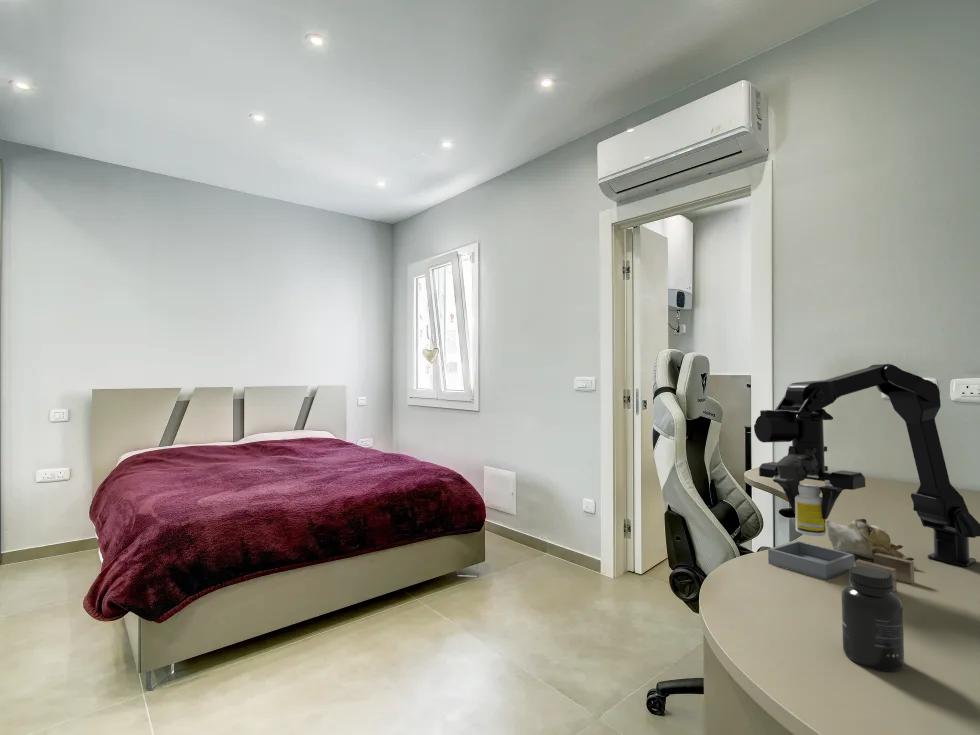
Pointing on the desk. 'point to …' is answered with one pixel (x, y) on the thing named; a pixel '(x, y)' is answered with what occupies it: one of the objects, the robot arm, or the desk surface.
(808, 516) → the supplement bottle
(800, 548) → the tray
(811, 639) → the desk surface
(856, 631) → the supplement bottle
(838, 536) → the ceramic sculpture
